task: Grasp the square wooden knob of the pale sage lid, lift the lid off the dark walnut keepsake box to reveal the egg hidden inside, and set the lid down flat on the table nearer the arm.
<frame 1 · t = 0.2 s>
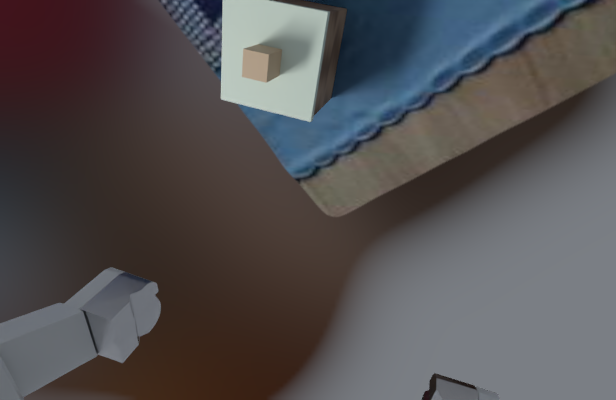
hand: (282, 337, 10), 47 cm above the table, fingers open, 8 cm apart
box: (298, 47, 53), on the table
lid: (272, 58, 45), point 10 cm above the table, touching box
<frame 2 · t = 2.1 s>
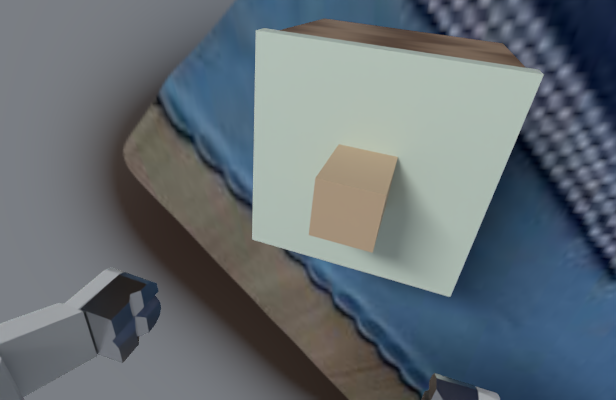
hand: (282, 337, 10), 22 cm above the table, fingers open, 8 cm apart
box: (390, 115, 28), on the table
lid: (366, 169, 20), point 10 cm above the table, touching box
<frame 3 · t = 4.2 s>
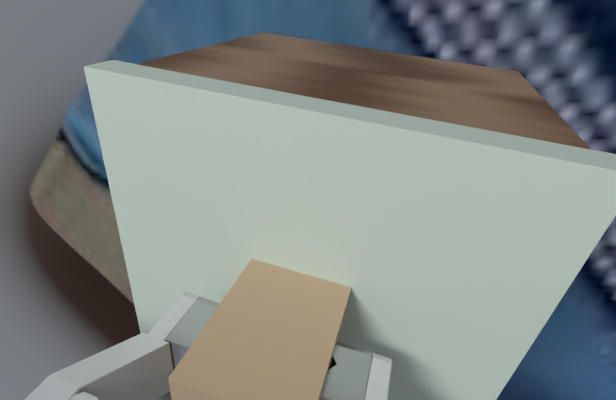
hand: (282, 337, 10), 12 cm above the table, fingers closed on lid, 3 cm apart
box: (359, 165, 20), on the table
lid: (305, 287, 12), point 10 cm above the table, touching box, gripper
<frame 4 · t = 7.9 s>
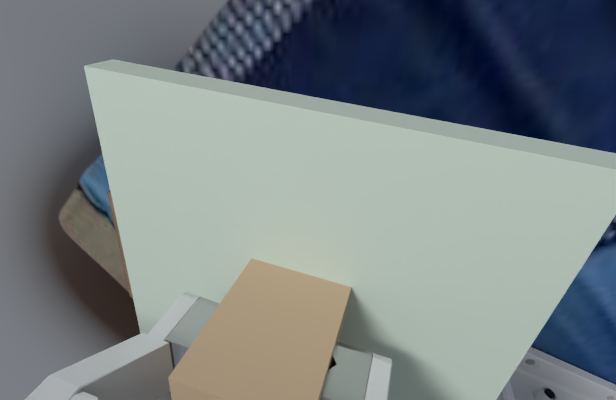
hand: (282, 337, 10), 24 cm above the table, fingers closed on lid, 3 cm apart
box: (232, 209, 40), on the table
lid: (305, 286, 12), point 22 cm above the table, touching gripper
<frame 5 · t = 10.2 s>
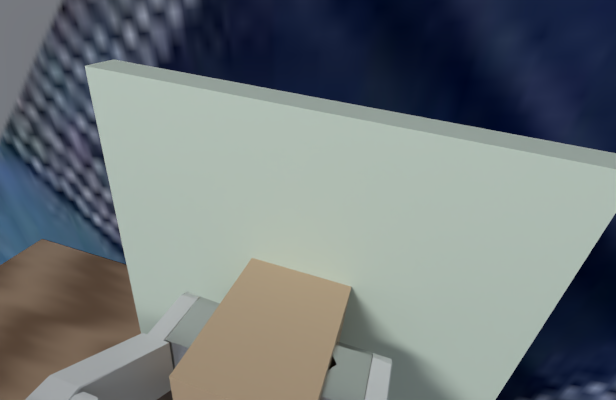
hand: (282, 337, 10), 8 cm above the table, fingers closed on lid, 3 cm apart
box: (130, 322, 27), on the table
lid: (305, 286, 12), point 6 cm above the table, touching gripper
when the fingers open (4 cm above the table, at t = 12.0 s): lid drops 2 cm, on the table.
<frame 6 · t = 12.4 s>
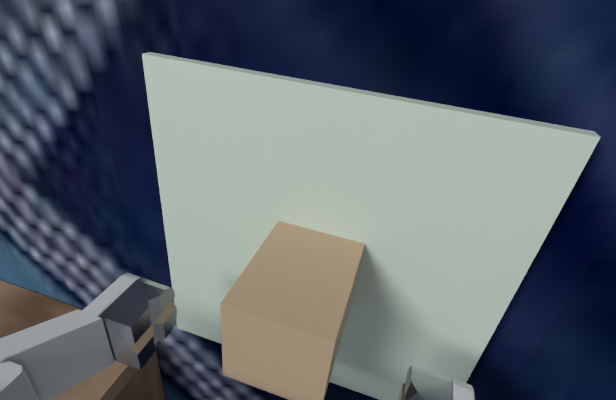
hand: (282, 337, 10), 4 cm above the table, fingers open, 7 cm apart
box: (83, 367, 24), on the table
lid: (323, 249, 14), on the table
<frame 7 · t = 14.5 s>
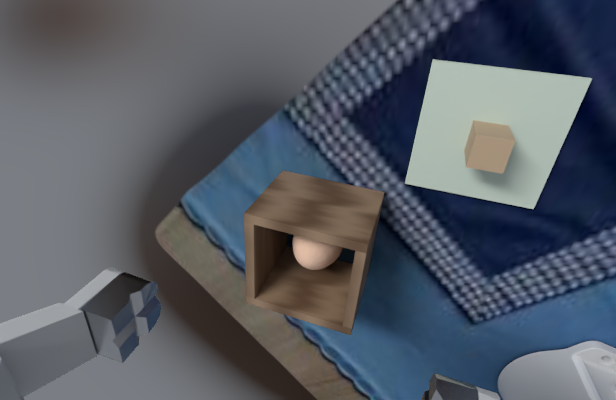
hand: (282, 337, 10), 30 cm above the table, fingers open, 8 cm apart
egg: (327, 223, 45), resting in box
box: (327, 224, 45), on the table
lid: (484, 134, 35), on the table
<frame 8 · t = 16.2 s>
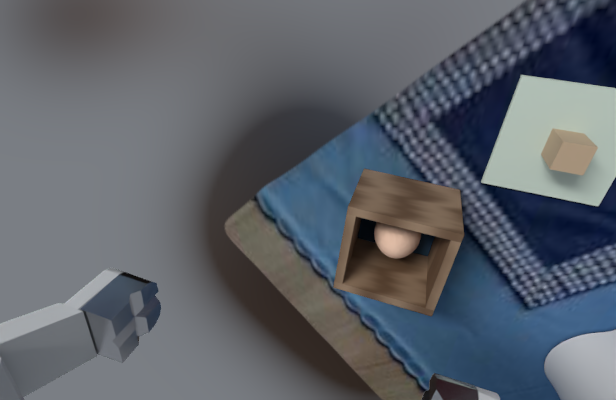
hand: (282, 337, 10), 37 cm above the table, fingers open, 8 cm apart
egg: (400, 217, 50), resting in box
box: (400, 218, 50), on the table
lid: (559, 141, 40), on the table
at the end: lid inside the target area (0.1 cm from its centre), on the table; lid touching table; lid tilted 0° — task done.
